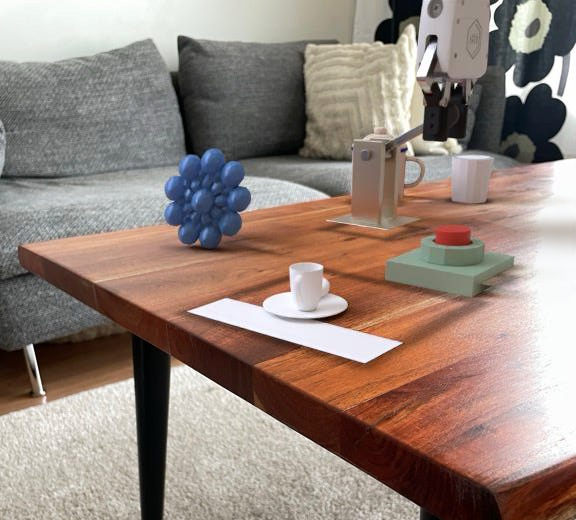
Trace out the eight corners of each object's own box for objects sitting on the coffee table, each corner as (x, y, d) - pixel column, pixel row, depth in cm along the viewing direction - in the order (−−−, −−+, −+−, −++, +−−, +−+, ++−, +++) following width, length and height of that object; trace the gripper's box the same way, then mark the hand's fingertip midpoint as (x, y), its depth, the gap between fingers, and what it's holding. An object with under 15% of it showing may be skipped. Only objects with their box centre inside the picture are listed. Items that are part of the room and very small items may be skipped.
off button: (475, 244, 76) (477, 227, 75) (460, 250, 74) (461, 233, 73) (444, 239, 78) (446, 223, 77) (428, 245, 76) (430, 228, 75)
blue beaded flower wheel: (264, 244, 92) (263, 146, 87) (244, 257, 86) (241, 152, 81) (182, 237, 95) (177, 142, 90) (157, 249, 89) (150, 148, 84)
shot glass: (444, 196, 123) (448, 154, 120) (485, 196, 123) (489, 154, 120) (451, 204, 117) (455, 159, 114) (493, 204, 117) (499, 159, 114)
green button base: (512, 275, 78) (517, 239, 76) (471, 297, 71) (476, 258, 69) (429, 261, 84) (432, 227, 82) (384, 280, 77) (386, 243, 75)
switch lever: (467, 121, 89) (458, 96, 89) (455, 122, 87) (446, 97, 86) (379, 167, 99) (371, 145, 98) (366, 170, 96) (358, 147, 96)
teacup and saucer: (303, 289, 73) (303, 250, 72) (368, 304, 69) (370, 263, 67) (245, 311, 67) (244, 268, 66) (312, 329, 63) (313, 284, 61)
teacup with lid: (345, 205, 116) (347, 129, 111) (353, 196, 124) (356, 124, 119) (420, 208, 113) (426, 130, 108) (424, 198, 121) (430, 125, 116)
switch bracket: (420, 227, 101) (427, 138, 96) (387, 238, 94) (392, 144, 90) (361, 218, 107) (364, 134, 102) (325, 228, 100) (327, 139, 95)
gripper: (454, -38, 74) (439, 147, 82) (518, -25, 86) (500, 136, 94) (391, -33, 79) (382, 143, 86) (460, -21, 90) (447, 133, 98)
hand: (444, 137), depth 90 cm, fingers open, 4 cm apart
